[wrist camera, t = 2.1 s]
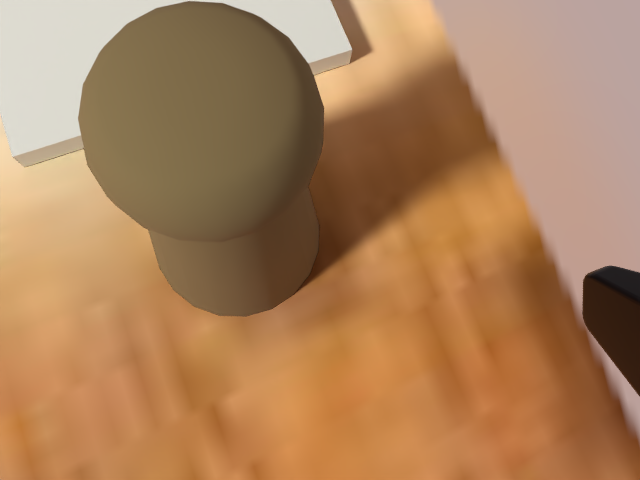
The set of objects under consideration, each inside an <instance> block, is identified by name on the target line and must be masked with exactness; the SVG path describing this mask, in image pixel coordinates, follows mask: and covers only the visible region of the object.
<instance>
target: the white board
mask: <svg viewBox="0 0 640 480" xmlns="http://www.w3.org/2000/svg"><path fill="white" fill-rule="evenodd" d="M187 1H199V2H216V3H224V4H227V5H230V6H233V7H236V8H239V9H241V10H244V11H247V12H250V13H253V14H255V15H257V16H259V17H261V18H263V19H264V20H265V21H267V22H268V23H270V24H271V25H272V26H274V27H275V28H277V29H278V30H279V31H281V32H282V33H284V34H285V35H286V36H288V37H289V38H290V39H291V41H292V42H293V44H294V45H295V46H296V48H297V49H298V50H299V52H300V53H301V54H302V56H303V57H304V58H305V60H306V61H307V62H308V64H309V65H310V68H311V70H312V73H313V75H315V74H318V73H321V72H324V71H328V70H331V69H334V68H337V67H340V66H343V65H346V64H349V63H350V59H351V54H352V48H351V45H350V43H349V41H348V38H347V36H346V34H345V32H344V29H343V27H342V25H341V23H340V20H339V18H338V16H337V14H336V11H335V9H334V7H333V5H332V2H331V0H0V115H1V118H2V122H3V125H4V129H5V132H6V136H7V139H8V143H9V146H10V150H11V153H12V157H13V158H14V159H16V160H17V161H18V162H19V163H20V164H21V165H22V166H23V167H27V166H30V165H33V164H36V163H39V162H42V161H46V160H49V159H52V158H55V157H58V156H61V155H64V154H67V153H71V152H74V151H77V150H80V149H83V148H84V146H83V142H82V137H81V132H80V127H79V121H78V115H79V108H80V101H81V94H82V87H83V83H84V81H85V79H86V77H87V75H88V73H89V71H90V69H91V67H92V66H93V64H94V62H95V60H96V58H97V56H98V54H99V52H100V51H101V50H102V48H103V47H104V46H105V45H106V44H107V43H108V42H109V41H110V40H111V39H112V38H113V37H114V36H115V35H116V34H117V33H118V32H119V31H120V30H121V29H122V28H123V27H124V26H125V25H126V24H127V23H129V22H131V21H133V20H135V19H137V18H138V17H140V16H142V15H144V14H146V13H148V12H150V11H152V10H154V9H155V8H159V7H163V6H168V5H173V4H177V3H182V2H187Z"/></svg>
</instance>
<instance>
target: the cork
mask: <svg viewBox="0 0 640 480" xmlns="http://www.w3.org/2000/svg"><path fill="white" fill-rule="evenodd" d="M78 121H79V127H80V132H81V137H82V142H83V146H84V151H85V156H86V160H87V165H88V167H89V168H90V170H91V172H92V173H93V175H94V176H95V178H96V180H97V181H98V183H99V184H100V186H101V187H102V189H103V191H104V192H105V194H106V195H107V197H108V198H109V199H110V200H111V201H112V202H113V203H114V204H115V205H116V206H117V207H118V208H120V209H121V210H122V211H123V212H125V213H126V214H127V215H129V216H130V217H131V218H132V219H134V220H135V221H136V222H137V223H139V224H140V225H141V226H142V227H144V228H146V229H148V231H149V234H150V237H151V241H152V244H153V247H154V251H155V254H156V257H157V261H158V264H159V267H160V269H161V271H162V273H163V274H164V276H165V277H166V279H167V281H168V282H169V284H170V285H171V287H172V288H173V290H174V291H175V292H177V293H178V294H179V295H180V296H182V297H183V298H184V299H185V300H187V301H188V302H189V303H190V304H192V305H193V306H194V307H197V308H200V309H203V310H205V311H208V312H211V313H213V314H216V315H219V316H249V315H253V314H256V313H260V312H263V311H267V310H270V309H273V308H274V307H276V306H277V305H279V304H280V303H282V302H283V301H285V300H286V299H288V298H289V297H291V296H292V295H294V293H295V292H296V291H297V290H298V288H299V287H300V286H301V285H302V283H303V282H304V281H305V280H306V278H307V277H308V276H309V275H310V272H311V270H312V267H313V264H314V262H315V259H316V256H317V253H318V251H319V223H318V219H317V216H316V212H315V208H314V205H313V201H312V198H311V194H310V191H309V187H308V185H309V183H310V180H311V178H312V175H313V173H314V170H315V167H316V165H317V162H318V160H319V157H320V154H321V151H322V145H323V126H324V106H323V103H322V100H321V97H320V94H319V91H318V88H317V85H316V82H315V78H314V75H313V73H312V70H311V68H310V65H309V64H308V62H307V61H306V60H305V58H304V57H303V56H302V54H301V53H300V52H299V50H298V49H297V48H296V46H295V45H294V44H293V42H292V41H291V39H290V38H289V37H288V36H286V35H285V34H284V33H282V32H281V31H279V30H278V29H277V28H275V27H274V26H272V25H271V24H270V23H268V22H267V21H265V20H264V19H263V18H261V17H259V16H257V15H255V14H253V13H250V12H247V11H244V10H241V9H239V8H236V7H233V6H230V5H227V4H224V3H216V2H199V1H187V2H182V3H177V4H173V5H168V6H163V7H159V8H155V9H154V10H152V11H150V12H148V13H146V14H144V15H142V16H140V17H138V18H137V19H135V20H133V21H131V22H129V23H127V24H126V25H125V26H124V27H123V28H122V29H121V30H120V31H119V32H118V33H117V34H116V35H115V36H114V37H113V38H112V39H111V40H110V41H109V42H108V43H107V44H106V45H105V46H104V47H103V48H102V50H101V51H100V52H99V54H98V56H97V58H96V60H95V62H94V64H93V66H92V67H91V69H90V71H89V73H88V75H87V77H86V79H85V81H84V83H83V87H82V94H81V101H80V108H79V115H78Z"/></svg>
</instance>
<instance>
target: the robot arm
mask: <svg viewBox="0 0 640 480" xmlns="http://www.w3.org/2000/svg"><path fill="white" fill-rule="evenodd" d="M583 319H584V322H585V324H586V326H587V328H588V330H589V331H590V332H591V334H592V335H593V336H594V338H595V339H596V340H597V342H598V343H599V344H600V345H601V347H602V348H603V349H604V351H605V352H606V353H607V355H608V356H609V357H610V358H611V360H612V361H613V362H614V364H615V365H616V366H617V368H618V369H619V370H620V371H621V373H622V374H623V375H624V377H625V378H626V379H627V381H628V382H629V383H630V384H631V386H632V387H633V388H634V390H635V391H636V392H637V394H638V395H639V396H640V273H639V272H635V271H631V270H628V269H624V268H620V267H616V266H606V267H603V268H600V269H598V270H595V271H593V272H590V273H588V274H587V275H586V276H585V278H584V280H583Z"/></svg>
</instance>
